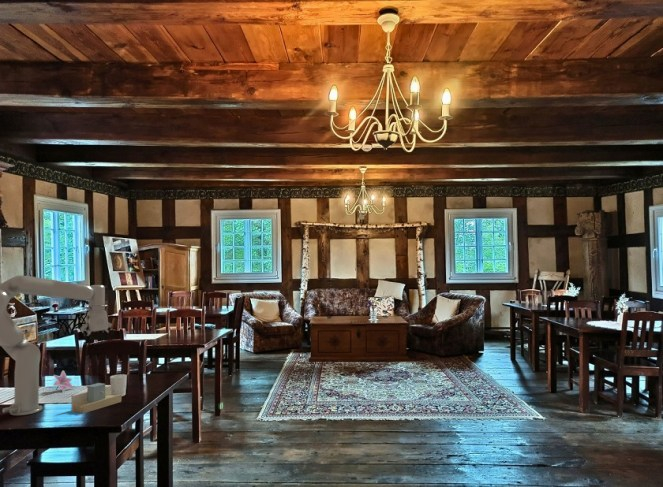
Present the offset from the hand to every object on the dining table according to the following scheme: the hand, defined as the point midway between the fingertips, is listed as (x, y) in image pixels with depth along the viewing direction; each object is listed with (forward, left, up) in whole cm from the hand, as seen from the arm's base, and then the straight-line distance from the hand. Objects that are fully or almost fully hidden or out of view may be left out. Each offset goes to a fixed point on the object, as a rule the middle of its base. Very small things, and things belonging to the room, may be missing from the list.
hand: (96, 341), depth 242 cm
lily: (+1, +30, -29) cm, 41 cm away
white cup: (+7, -8, -28) cm, 30 cm away
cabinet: (-10, -14, -26) cm, 31 cm away
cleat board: (-10, -15, -28) cm, 34 cm away
